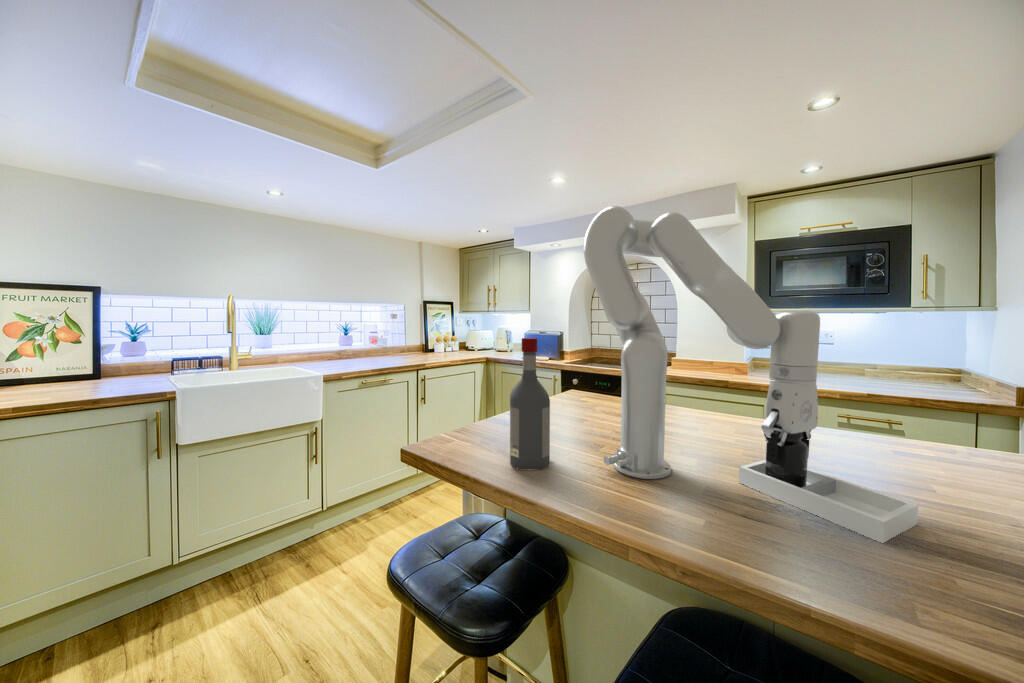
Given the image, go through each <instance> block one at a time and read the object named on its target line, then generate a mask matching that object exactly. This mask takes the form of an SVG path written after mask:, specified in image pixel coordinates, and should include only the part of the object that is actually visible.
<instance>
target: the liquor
mask: <svg viewBox="0 0 1024 683" xmlns="http://www.w3.org/2000/svg"><path fill="white" fill-rule="evenodd" d="M521 352H522V374H521V378H520V379H519V381H518V382H517V383H516V385H514V387H513V388H512V389H511V391H510V393H509V455H510V456H509V458H510V460H509V461H510V462H509V463H510V465H511V467H512V466H513V467H512V468H514V467H515V469H516V468H518V469H517V470H519V469H541V470H543V469H545V467H546V468H548V467H549V465H550V455H551V454H550V453H551V452H550V446H551V444H550V443H551V442H550V440H551V439H550V437H551V434H550V433H551V429H550V428H551V426H550V422H551V409H550V408H551V399H550V397H549V394H548V392H547V390H546V389H545V387H544V386H543V385H542V383H541V382H540V381H539V379H538V376H537V352H538V338H535V337H522V338H521ZM547 466H548V467H547Z"/></svg>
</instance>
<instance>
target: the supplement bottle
mask: <svg viewBox="0 0 1024 683" xmlns="http://www.w3.org/2000/svg"><path fill="white" fill-rule="evenodd" d="M776 428H779V429H782V427H779V426H776ZM775 433H776V434H777V436H778V437H780V434H781V433H778V432H775ZM802 433H803V432H801V433H797V434H789V433H788V434H787V436H786V439H785V442H784V446H786V454H785V465H784V466H780V465H777V464H774V463H771V462H768V461H767V460H766V459H765V460H766V465H765V475H768V476H770V477H773V478H776V479H778V480H781V481H784V482H786V483H789V484H792V485H794V486H797V487H800V488H802V487H805V486H806V481H807V468H808V460H809V456H808V446H807V445H806V444H805V443H804V442H803V441H802V440H801V439H802V438H803V435H802ZM765 445H766V446H765V454H766V453H767V442H766V444H765Z"/></svg>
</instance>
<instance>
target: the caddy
mask: <svg viewBox="0 0 1024 683" xmlns="http://www.w3.org/2000/svg"><path fill="white" fill-rule="evenodd" d="M765 465H766V459H763V460H759V461H756V462H752V463H748V464H744V465H741V466H739V467H738V468H739V469H738V484H740V483H741V484H740V485H742V484H744V485H743V486H745V485H746V486H745V487H747V486H748V487H747V488H750V489H752V488H753V490H754V489H755V490H754V491H757V492H759V491H760V493H761V492H762V494H763V495H766V496H768V497H771V498H773V497H774V498H773V499H777V500H778V501H780V500H781V502H783V501H784V502H783V503H785V502H786V504H787V505H790V504H791V505H790V506H792V505H793V506H792V507H795V508H797V507H798V508H797V509H799V508H800V510H802V511H804V510H805V512H806V511H807V513H809V514H811V513H812V514H811V515H814V516H816V515H817V517H818V516H819V517H818V518H821V519H823V518H824V519H823V520H825V519H826V521H828V520H829V521H828V522H830V521H831V523H832V524H835V525H837V524H838V525H837V526H840V527H842V528H844V527H845V529H847V530H849V529H850V530H849V531H851V530H852V532H854V531H855V532H854V533H856V532H857V534H859V535H861V536H863V535H864V537H866V538H868V537H869V539H870V538H871V540H873V541H875V540H876V542H878V543H880V542H881V543H880V544H882V543H883V544H884V543H886V542H887V541H890V540H892V539H894V538H895V537H897V536H899V535H900V533H901V534H902V532H903V533H905V532H906V531H908V530H910V529H911V528H913V527H915V526H917V524H918V513H919V505H918V503H913V502H911V501H907V500H905V499H902V498H898V497H895V496H892V495H889V494H887V493H884V492H880V491H876V490H874V489H870V488H868V487H866V486H861V485H859V484H855V483H852V482H850V481H847V480H844V479H841V478H837V477H835V476H832V475H829V474H826V473H822V472H820V471H817V470H814V469H810V468H808V467H807V481H806V486H805V487H802V488H800V487H797V486H794V485H792V484H789V483H786V482H784V481H781V480H778V479H776V478H773V477H770V476H768V475H765ZM898 534H899V535H898ZM896 535H897V536H896ZM893 537H894V538H893ZM891 538H892V539H891ZM889 539H890V540H889Z"/></svg>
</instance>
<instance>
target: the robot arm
mask: <svg viewBox="0 0 1024 683" xmlns="http://www.w3.org/2000/svg"><path fill="white" fill-rule="evenodd" d="M583 255H584V256H583V257H584V262H585V265H586V269H587V271H588V274H589V276H590V278H591V281H592V284H593V286H594V288H595V291H596V294H597V297H598V299H599V301H600V304H601V305H602V308H603V311H604V313H605V317H606V320H607V321H608V322H609V323H610V324H611V325H612V326H613V327H615V330H616V332H617V334H618V336H619V339H620V341H621V344H622V349H621V353H620V354H621V356H620V369H621V370H620V372H621V373H620V374H621V375H620V376H621V390H620V391H621V394H620V395H621V397H620V399H621V400H620V401H621V407H620V408H621V410H620V447H617V448H616V452H615V453H614V454H610V455H605V456H604V457H603V463H604V465H606V466H610V465H613V467H614V468H615V469H616V470H617V471H618V472H620V473H622V474H623V475H626V476H629V477H632V478H637V479H645V480H658V479H664V478H666V477H668V476H669V475H670V474H671V473H672V466H671V464H670V463H669V462H668V461H666V460H665V438H666V437H665V435H666V433H665V432H666V431H665V430H666V429H665V427H666V395H667V394H666V393H667V391H666V390H667V375H668V374H667V371H668V370H667V369H668V347H667V344H666V341H665V339H664V336H663V334H662V332H661V330H660V328H659V326H658V323H657V322H656V319H655V317H654V314H653V313H652V309H651V307H650V305H649V304H648V301H647V299H646V298H645V297H644V295H643V294H642V293H641V292H640V290H639V289H638V287H637V285H636V282H635V280H634V278H633V276H632V274H631V271H630V268H629V266H628V264H627V261H626V259H625V256H624V255H632V256H633V255H635V256H643V257H651V258H662V259H663V261H664V262H665V263H666V264H667V265H668V267H670V269H671V270H672V271H673V272H674V274H676V277H678V278H679V279H680V281H681V282H682V284H683V285H684V286H685V287H686V288H687V289H688V290H689V291H690V293H692V294H694V295H695V296H696V297H698V298H700V300H702V301H703V302H704V303H706V305H707V306H708V307H709V308H710V309H711V310H712V311H713V312H714V313H715V314H716V316H718V318H719V319H720V320H721V321H722V323H724V325H725V326H726V333H727V335H728V337H729V339H730V340H732V342H734V343H736V344H737V345H740V346H743V347H745V348H748V349H751V350H761V349H765V348H768V347H770V358H769V376H768V377H769V378H768V379H769V386H768V389H767V396H766V403H765V405H766V406H765V415H764V416H765V417H764V418H765V420H764V422H762V424H761V430H762V432H763V435H764V438H765V442H766V443H767V453H766V452H765V460H767V461H768V462H771V463H774V464H777V465H780V466H784V465H785V454H786V446H784V442H785V439H786V436H787V434H788V433H789V434H797V433H801V432H803V433H802V435H803V438H802V439H801V440H802V441H803V442H804V443H805V444H806V445H807V446H808V457H809V456H810V455H809V454H810V452H809V451H810V440H811V438H812V434H811V432H812V430H814V429H816V428H817V426H818V423H819V422H818V421H819V420H818V419H819V418H818V417H819V401H818V400H819V398H818V395H819V394H818V386H817V376H818V364H819V363H818V361H819V346H820V333H821V332H820V330H821V329H820V328H821V317H820V315H819V314H818V313H817V312H815V311H808V310H807V311H804V310H803V311H802V310H800V311H798V310H797V311H795V310H793V311H791V310H789V311H788V310H787V311H779V312H773V310H772V309H770V307H769V306H768V305H767V304H766V302H765V301H764V300H763V299H762V298H761V297H760V296H759V294H758V293H757V292H756V291H755V290H754V289H753V288H752V286H750V285H749V284H748V283H747V282H746V281H745V280H744V279H743V278H742V277H741V276H739V275H738V273H737V272H736V271H735V270H734V269H733V268H732V267H731V266H730V265H728V264H727V263H726V261H724V259H722V257H721V256H720V255H719V254H718V252H716V250H715V249H714V248H712V246H711V245H710V243H709V242H707V240H706V238H704V237H703V235H702V234H701V233H700V232H699V230H697V229H696V227H695V226H694V224H692V223H691V221H690V220H689V219H688V218H686V217H685V216H684V215H683V214H681V213H679V212H675V211H672V212H671V211H669V212H666V213H664V214H662V215H660V216H658V217H657V218H656V219H655V220H644V219H635V218H634V217H633V215H632V214H631V212H630V211H629V210H627V209H626V208H624V207H623V206H618V205H611V206H607V207H605V208H603V209H602V210H601V211H599V212H598V213H597V214H596V215H595V216H594V218H592V220H591V222H590V223H589V225H588V228H587V230H586V232H585V235H584V241H583ZM776 426H779V427H782V429H779V428H776ZM775 432H778V433H781V434H780V437H778V436H777V434H776V433H775Z"/></svg>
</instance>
